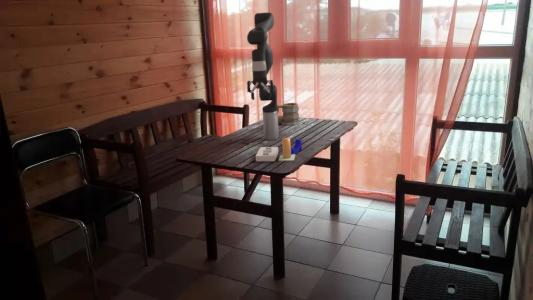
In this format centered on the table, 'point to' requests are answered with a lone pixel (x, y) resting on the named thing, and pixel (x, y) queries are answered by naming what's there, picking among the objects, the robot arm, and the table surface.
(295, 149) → the cable clip
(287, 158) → the mat
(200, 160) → the table surface
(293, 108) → the tankard
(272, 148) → the white slab with hole
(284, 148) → the plug
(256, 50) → the robot arm
